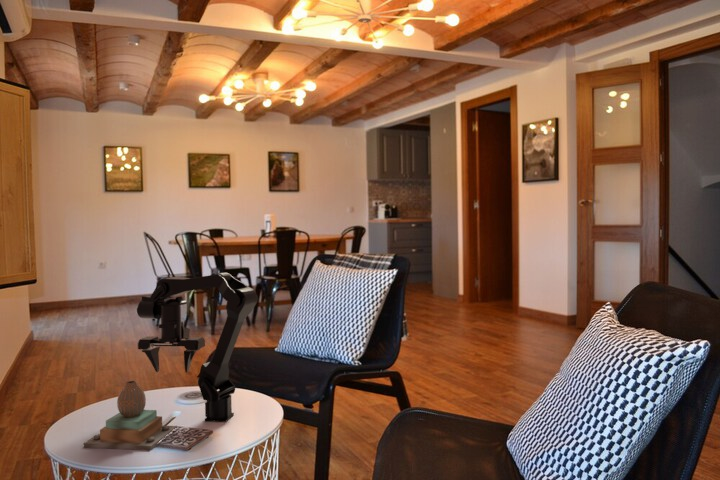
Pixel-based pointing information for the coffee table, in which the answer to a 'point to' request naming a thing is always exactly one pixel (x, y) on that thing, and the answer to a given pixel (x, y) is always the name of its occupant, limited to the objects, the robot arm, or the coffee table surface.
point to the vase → (131, 400)
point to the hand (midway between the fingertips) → (172, 372)
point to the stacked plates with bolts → (131, 432)
